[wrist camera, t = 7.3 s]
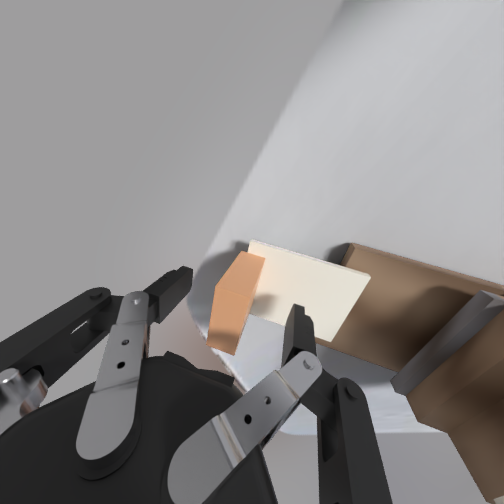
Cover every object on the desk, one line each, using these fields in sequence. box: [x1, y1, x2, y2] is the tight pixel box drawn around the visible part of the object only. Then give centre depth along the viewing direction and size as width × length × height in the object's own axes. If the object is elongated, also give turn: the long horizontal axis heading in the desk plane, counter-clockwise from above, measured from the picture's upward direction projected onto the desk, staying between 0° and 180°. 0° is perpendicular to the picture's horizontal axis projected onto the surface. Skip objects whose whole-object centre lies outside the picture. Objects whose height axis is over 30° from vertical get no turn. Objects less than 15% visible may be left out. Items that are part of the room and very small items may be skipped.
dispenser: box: [315, 243, 504, 504], centre depth 11 cm, size 10×14×11 cm
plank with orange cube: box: [206, 239, 371, 355], centre depth 13 cm, size 7×10×6 cm
